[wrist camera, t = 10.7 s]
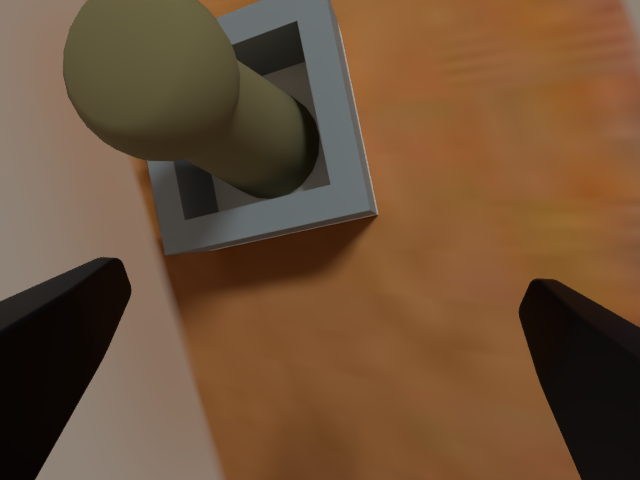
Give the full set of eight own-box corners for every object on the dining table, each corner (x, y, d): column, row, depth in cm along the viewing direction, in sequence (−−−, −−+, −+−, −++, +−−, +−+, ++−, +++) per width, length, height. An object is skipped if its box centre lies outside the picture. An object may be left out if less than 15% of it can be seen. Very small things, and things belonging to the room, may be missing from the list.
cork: (264, 220, 20) (105, 209, 10) (202, 146, 21) (-8, 59, 10) (342, 146, 19) (259, 38, 8) (272, 70, 20) (116, -117, 9)
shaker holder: (378, 214, 20) (370, 210, 15) (212, 250, 22) (165, 255, 18) (340, 32, 20) (322, -24, 16) (181, 88, 22) (126, 53, 18)
